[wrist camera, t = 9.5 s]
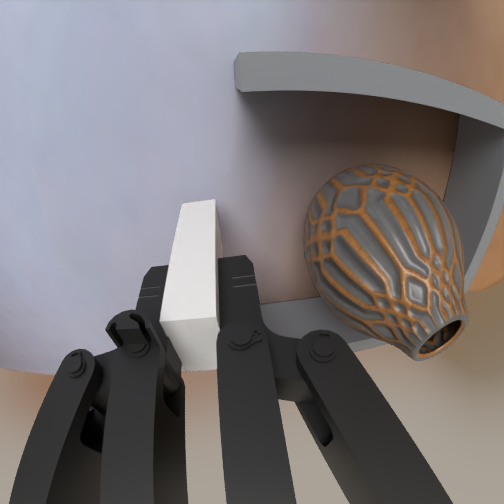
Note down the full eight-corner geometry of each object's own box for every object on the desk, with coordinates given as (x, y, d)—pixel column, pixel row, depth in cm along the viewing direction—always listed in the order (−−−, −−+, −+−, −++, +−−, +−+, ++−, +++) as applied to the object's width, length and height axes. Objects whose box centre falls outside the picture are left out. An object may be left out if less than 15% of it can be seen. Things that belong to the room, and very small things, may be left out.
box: (253, 317, 18) (260, 368, 15) (233, 61, 9) (239, 52, 6) (423, 288, 19) (446, 325, 16) (473, 95, 10) (522, 114, 7)
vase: (421, 176, 13) (530, 275, 6) (368, 268, 17) (429, 384, 10) (322, 126, 11) (458, 227, 4) (270, 246, 15) (308, 401, 8)
